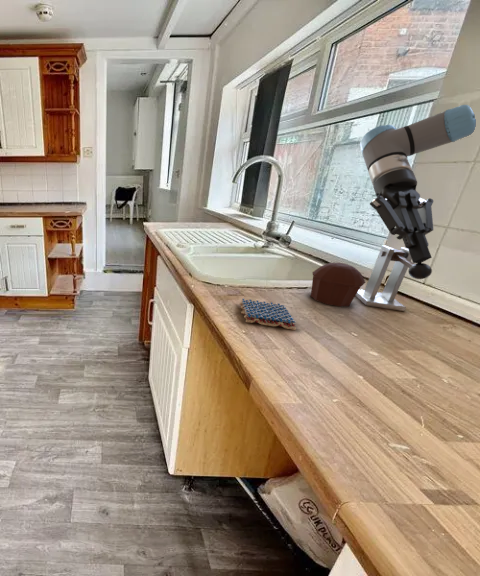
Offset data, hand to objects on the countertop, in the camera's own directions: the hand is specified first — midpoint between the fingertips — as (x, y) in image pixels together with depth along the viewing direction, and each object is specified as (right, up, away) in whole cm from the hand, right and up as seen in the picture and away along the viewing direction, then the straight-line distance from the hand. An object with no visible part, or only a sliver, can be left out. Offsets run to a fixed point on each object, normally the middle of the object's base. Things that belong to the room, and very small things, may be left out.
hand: (422, 260), depth 68 cm
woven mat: (-33, -13, +3) cm, 36 cm away
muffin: (-9, -10, +15) cm, 20 cm away
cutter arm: (+2, -2, +6) cm, 7 cm away
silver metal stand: (+4, -10, +15) cm, 19 cm away
